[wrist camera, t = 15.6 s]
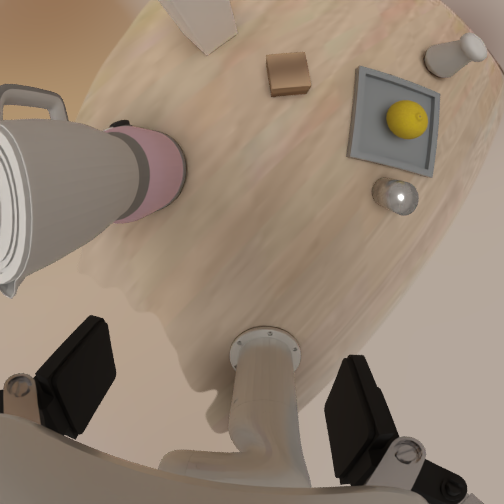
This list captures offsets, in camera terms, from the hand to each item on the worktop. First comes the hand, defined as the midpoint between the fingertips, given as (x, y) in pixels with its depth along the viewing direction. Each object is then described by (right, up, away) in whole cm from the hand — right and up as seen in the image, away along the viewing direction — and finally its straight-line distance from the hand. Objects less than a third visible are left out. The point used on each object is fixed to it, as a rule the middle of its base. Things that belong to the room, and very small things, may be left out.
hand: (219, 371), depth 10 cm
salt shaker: (+31, +35, +22) cm, 52 cm away
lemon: (+22, +24, +25) cm, 41 cm away
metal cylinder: (+21, +13, +30) cm, 39 cm away
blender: (-14, +18, +30) cm, 38 cm away
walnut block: (+6, +29, +25) cm, 39 cm away
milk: (-5, +37, +23) cm, 44 cm away
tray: (+23, +24, +26) cm, 42 cm away
